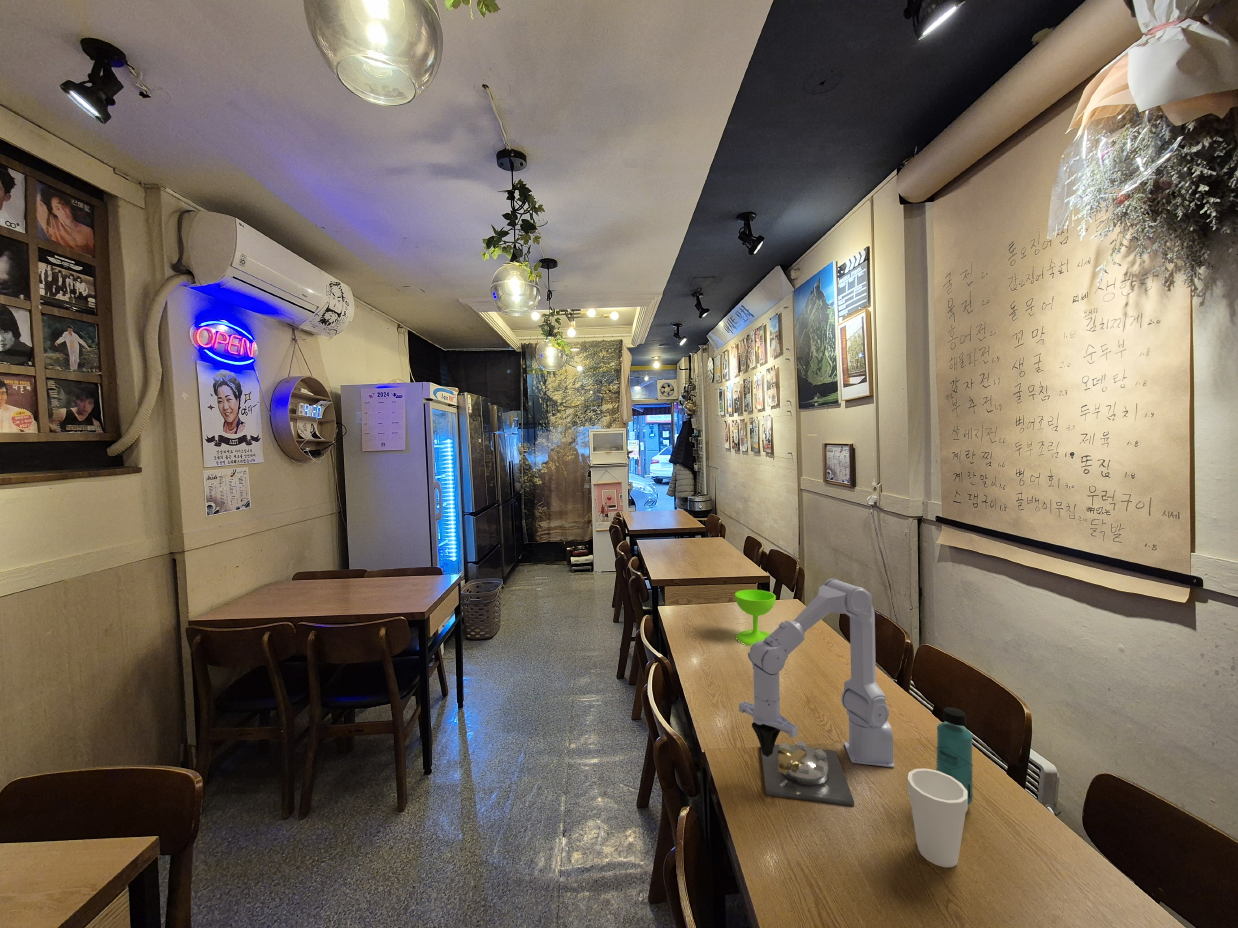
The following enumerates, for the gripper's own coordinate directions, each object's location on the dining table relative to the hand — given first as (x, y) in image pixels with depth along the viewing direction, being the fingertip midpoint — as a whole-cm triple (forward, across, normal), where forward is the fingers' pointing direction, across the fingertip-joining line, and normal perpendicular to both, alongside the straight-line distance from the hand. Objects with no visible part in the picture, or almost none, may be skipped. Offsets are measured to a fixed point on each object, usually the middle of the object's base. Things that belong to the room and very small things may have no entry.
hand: (767, 753), depth 112 cm
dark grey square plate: (+6, +4, +8) cm, 11 cm away
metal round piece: (+5, +4, +6) cm, 9 cm away
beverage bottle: (+6, +30, +24) cm, 39 cm away
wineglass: (+6, -54, +68) cm, 87 cm away
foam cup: (+6, +32, +7) cm, 34 cm away
